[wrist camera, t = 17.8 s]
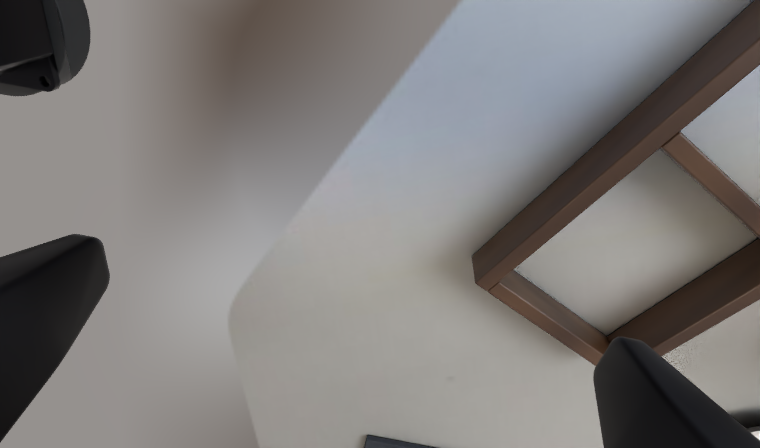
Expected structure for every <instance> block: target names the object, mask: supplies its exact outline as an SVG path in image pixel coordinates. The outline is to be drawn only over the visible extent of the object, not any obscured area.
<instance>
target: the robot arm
mask: <svg viewBox="0 0 760 448" xmlns="http://www.w3.org/2000/svg"><path fill="white" fill-rule="evenodd" d="M45 77H46V78H47V79H48V80H49V82H50V84H49V83H48V82H47V81H46V79H45ZM0 83H4V84H9V85H14V86H20V87H25V88H31V89H36V90H41V91H47V92H49V91H53V90H56V89H58V88H59V87H60V78H59V73H58V69H57V65H56V60H55V56H54V52H53V47H52V43H51V38H50V34H49V30H48V25H47V21H46V17H45V12H44V8H43V4H42V0H0ZM109 278H110V274H109V269H108V265H107V260H106V256H105V251H104V246H103V243H102V242H101V241H100V240H99V239H97V238H95V237H90V236H85V235H80V234H72V235H68V236H65V237H62V238H59V239H56V240H53V241H50V242H47V243H43V244H40V245H37V246H34V247H31V248H28V249H25V250H22V251H19V252H16V253H12V254H9V255H6V256H3V257H0V442H1V441H2V440H3V438H4V437H5V436H6V434H7V433H8V432H9V430H10V429H11V428H12V426H13V425H14V424H15V422H16V421H17V420H18V419H19V417H20V416H21V415H22V413H23V412H24V411H25V409H26V408H27V407H28V405H29V404H30V403H31V402H32V400H33V399H34V398H35V396H36V395H37V394H38V392H39V391H40V390H41V389H42V387H43V386H44V385H45V383H46V382H47V381H48V379H49V378H50V377H51V375H52V374H53V373H54V371H55V370H56V368H57V367H58V366H59V364H60V363H61V361H62V360H63V358H64V357H65V355H66V354H67V352H68V351H69V349H70V347H71V346H72V344H73V342H74V341H75V339H76V338H77V336H78V334H79V333H80V331H81V329H82V328H83V326H84V325H85V323H86V321H87V320H88V318H89V317H90V315H91V313H92V311H93V310H94V308H95V307H96V305H97V304H98V302H99V300H100V299H101V297H102V295H103V294H104V292H105V291H106V289H107V286H108V284H109ZM594 387H595V393H596V400H597V406H598V413H599V419H600V426H601V432H602V438H603V445H604V448H760V440H759V439H758V438H756V437H755V436H754V435H753V434H752V433H750V432H749V431H748V430H747V429H746V428H745V427H743V426H742V425H741V424H740V423H739V422H738V421H736V420H735V419H734V418H733V417H732V416H730V415H729V414H728V413H727V412H726V411H725V410H723V409H722V408H721V407H720V406H719V405H718V404H716V403H715V402H714V401H713V400H712V399H710V398H709V397H708V396H707V395H706V394H705V393H703V392H702V391H701V390H700V389H699V388H698V387H696V386H695V385H694V384H693V383H692V382H691V381H689V380H688V379H687V378H686V377H685V376H683V375H682V374H681V373H680V372H679V371H678V370H676V369H675V368H674V367H673V366H672V365H671V364H669V363H668V362H667V361H666V360H665V359H663V358H662V357H661V356H660V355H659V354H658V353H656V352H655V351H654V350H653V349H652V348H651V347H649V346H648V345H647V344H646V343H644V342H643V341H641V340H637V339H632V338H626V337H616V338H615V339H613V340H612V341H611V343H610V345H609V346H608V348H607V349H606V351H605V353H604V354H603V356H602V357H601V359H600V361H599V362H598V364H597V365H596V367H595V370H594Z"/></svg>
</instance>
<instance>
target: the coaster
mask: <svg viewBox="0 0 760 448" xmlns="http://www.w3.org/2000/svg"><path fill="white" fill-rule="evenodd" d="M364 448H434V447H429V446H423V445H418V444H413V443H407V442H402V441H396V440H391V439H386V438H380V437H375V436H370V435H367V438H366V442H365V447H364Z"/></svg>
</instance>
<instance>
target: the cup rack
mask: <svg viewBox="0 0 760 448" xmlns="http://www.w3.org/2000/svg"><path fill="white" fill-rule="evenodd" d="M759 65H760V0H755V1H754V2H752V3H751V4H750V5H749V6H748V7H747V8H746V9H745V10H744V11H743V12H741V13H740V14H739V15H738V16H737V17H736V18H735V19H734V20H733V21H732V22H730V23H729V24H728V25H727V26H726V27H725V28H724V29H723V30H722V31H720V32H719V33H718V34H717V35H716V36H715V37H714V38H713V39H712V40H711V41H709V42H708V43H707V44H706V45H705V46H704V47H703V48H702V49H701V50H699V51H698V52H697V53H696V54H695V55H694V56H693V57H692V58H691V59H690V60H688V61H687V62H686V63H685V64H684V65H683V66H682V67H681V68H680V69H678V70H677V71H676V72H675V73H674V74H673V75H672V76H671V77H670V78H669V79H667V80H666V81H665V82H664V83H663V84H662V85H661V86H660V87H659V88H657V89H656V90H655V91H654V92H653V93H652V94H651V95H650V96H649V97H648V98H646V99H645V100H644V101H643V102H642V103H641V104H640V105H639V106H638V107H636V108H635V109H634V110H633V111H632V112H631V113H630V114H629V115H628V116H627V117H625V118H624V119H623V120H622V121H621V122H620V123H619V124H618V125H617V126H615V127H614V128H613V129H612V130H611V131H610V132H609V133H608V134H607V135H606V136H604V137H603V138H602V139H601V140H600V141H599V142H598V143H597V144H596V145H595V146H593V147H592V148H591V149H590V150H589V151H588V152H587V153H586V154H585V155H583V156H582V157H581V158H580V159H579V160H578V161H577V162H576V163H575V164H574V165H572V166H571V167H570V168H569V169H568V170H567V171H566V172H565V173H564V174H562V175H561V176H560V177H559V178H558V179H557V180H556V181H555V182H554V183H553V184H551V185H550V186H549V187H548V188H547V189H546V190H545V191H544V192H543V193H541V194H540V195H539V196H538V197H537V198H536V199H535V200H534V201H533V202H532V203H530V204H529V205H528V206H527V207H526V208H525V209H524V210H523V211H522V212H520V213H519V214H518V215H517V216H516V217H515V218H514V219H513V220H512V221H511V222H509V223H508V224H507V225H506V226H505V227H504V228H503V229H502V230H501V231H499V232H498V233H497V234H496V235H495V236H494V237H493V238H492V239H491V240H490V241H488V242H487V243H486V244H485V245H484V246H483V247H482V248H481V249H480V250H479V251H477V252H476V253H475V254H474V255H473V256H472V263H473V270H474V278H475V283H476V284H477V285H479V286H480V287H481V288H483V289H484V290H486V291H488V292H489V293H490V294H492V295H493V296H494V297H496V298H497V299H499V300H500V301H502V302H503V303H505V304H506V305H508V306H509V307H511V308H512V309H513V310H515V311H516V312H518V313H519V314H521V315H522V316H524V317H525V318H527V319H528V320H529V321H531V322H532V323H534V324H535V325H537V326H538V327H540V328H541V329H543V330H544V331H546V332H547V333H548V334H550V335H551V336H553V337H554V338H556V339H557V340H559V341H560V342H562V343H563V344H564V345H566V346H567V347H569V348H570V349H572V350H573V351H575V352H576V353H578V354H579V355H581V356H582V357H583V358H585V359H586V360H588V361H589V362H591V363H592V364H594V365H595V366H596V365H597V364H598V362H599V361H600V359H601V357H602V356H603V354H604V353H605V351H606V349H607V348H608V346H609V345H610V343H611V341H612V340H613V339H615V338H616V337H626V338H632V339H637V340H641V341H643V342H644V343H646V344H647V345H648V346H649V347H651V348H652V349H653V350H654V351H655V352H656V353H658V354H659V355H660V356H663V355H664V354H666V353H668V352H669V351H671V350H673V349H675V348H676V347H678V346H680V345H682V344H683V343H685V342H687V341H688V340H690V339H692V338H694V337H695V336H697V335H699V334H701V333H702V332H704V331H706V330H707V329H709V328H711V327H713V326H714V325H716V324H718V323H720V322H721V321H723V320H725V319H726V318H728V317H730V316H732V315H733V314H735V313H737V312H739V311H740V310H742V309H744V308H745V307H747V306H749V305H751V304H752V303H754V302H756V301H758V300H759V299H760V206H759V205H758V204H757V203H756V202H755V201H754V200H753V199H752V198H750V197H749V196H748V195H747V194H746V193H745V192H744V191H743V190H742V189H741V188H740V187H739V186H738V185H737V184H736V183H734V182H733V181H732V180H731V179H730V178H729V177H728V176H727V175H726V174H725V173H724V172H723V171H722V170H721V169H720V168H719V167H717V166H716V165H715V164H714V163H713V162H712V161H711V160H710V159H709V158H708V157H707V156H706V155H705V154H704V153H703V152H701V151H700V150H699V149H698V148H697V147H696V146H695V145H694V144H693V143H692V142H691V141H690V140H689V139H688V138H687V137H685V136H684V135H683V134H682V133H681V132H680V131H681V130H682V129H683V128H684V127H685V126H687V125H688V124H689V123H690V122H691V121H693V120H694V119H695V118H696V117H697V116H699V115H700V114H701V113H702V112H703V111H705V110H706V109H707V108H708V107H709V106H711V105H712V104H713V103H714V102H715V101H717V100H718V99H719V98H720V97H721V96H723V95H724V94H725V93H726V92H727V91H729V90H730V89H731V88H732V87H733V86H735V85H736V84H737V83H738V82H739V81H741V80H742V79H743V78H744V77H745V76H747V75H748V74H749V73H750V72H751V71H753V70H754V69H755V68H756V67H758V66H759ZM659 148H660V149H661V150H662V151H663V152H665V153H666V154H667V155H668V156H669V157H670V158H671V159H672V160H673V161H675V162H676V163H677V164H678V165H679V166H680V167H681V168H682V169H683V170H684V171H686V172H687V173H688V174H689V175H690V176H691V177H692V178H693V179H694V180H695V181H697V182H698V183H699V184H700V185H701V186H702V187H703V188H704V189H705V190H706V191H708V192H709V193H710V194H711V195H712V196H713V197H714V198H715V199H716V200H717V201H719V202H720V203H721V204H722V205H723V206H724V207H725V208H726V209H727V210H728V211H730V212H731V213H732V214H733V215H734V216H735V217H736V218H737V219H738V220H740V221H741V222H742V223H743V224H744V225H745V226H746V227H747V228H748V229H749V230H751V231H752V232H753V233H754V234H755V235H756V236H757V237H758V238H759V239H757V240H756V241H754V242H753V243H751V244H750V245H748V246H747V247H745V248H743V249H742V250H740V251H739V252H737V253H736V254H734V255H733V256H731V257H730V258H728V259H726V260H725V261H723V262H722V263H720V264H719V265H717V266H716V267H714V268H712V269H711V270H709V271H708V272H706V273H705V274H703V275H702V276H700V277H699V278H697V279H695V280H694V281H692V282H691V283H689V284H688V285H686V286H685V287H683V288H681V289H680V290H678V291H677V292H675V293H674V294H672V295H671V296H669V297H668V298H666V299H664V300H663V301H661V302H660V303H658V304H657V305H655V306H654V307H652V308H650V309H649V310H647V311H646V312H644V313H643V314H641V315H640V316H638V317H637V318H635V319H633V320H632V321H630V322H629V323H627V324H626V325H624V326H623V327H621V328H619V329H618V330H616V331H615V332H613V333H612V334H610V335H609V336H607V337H606V336H605V335H604V334H602V333H601V332H599V331H598V330H597V329H595V328H594V327H592V326H591V325H590V324H588V323H587V322H585V321H584V320H583V319H581V318H580V317H578V316H577V315H576V314H574V313H573V312H571V311H570V310H569V309H567V308H566V307H564V306H563V305H562V304H560V303H559V302H557V301H556V300H555V299H553V298H552V297H550V296H549V295H548V294H546V293H545V292H543V291H542V290H541V289H539V288H538V287H536V286H535V285H534V284H532V283H531V282H529V281H528V280H527V279H525V278H524V277H522V276H521V275H520V274H518V273H517V272H515V271H514V270H513V269H515V268H516V267H517V266H518V265H519V264H521V263H522V262H523V261H524V260H525V259H527V258H528V257H529V256H530V255H531V254H533V253H534V252H535V251H536V250H537V249H539V248H540V247H541V246H542V245H543V244H545V243H546V242H547V241H548V240H549V239H551V238H552V237H553V236H554V235H555V234H557V233H558V232H559V231H560V230H561V229H563V228H564V227H565V226H566V225H567V224H569V223H570V222H571V221H572V220H573V219H575V218H576V217H577V216H578V215H579V214H581V213H582V212H583V211H584V210H585V209H587V208H588V207H589V206H590V205H591V204H593V203H594V202H595V201H596V200H598V199H599V198H600V197H601V196H602V195H604V194H605V193H606V192H607V191H608V190H610V189H611V188H612V187H613V186H614V185H616V184H617V183H618V182H619V181H620V180H622V179H623V178H624V177H625V176H626V175H628V174H629V173H630V172H631V171H632V170H634V169H635V168H636V167H637V166H638V165H640V164H641V163H642V162H643V161H644V160H646V159H647V158H648V157H649V156H650V155H652V154H653V153H654V152H655V151H656V150H658V149H659Z"/></svg>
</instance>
